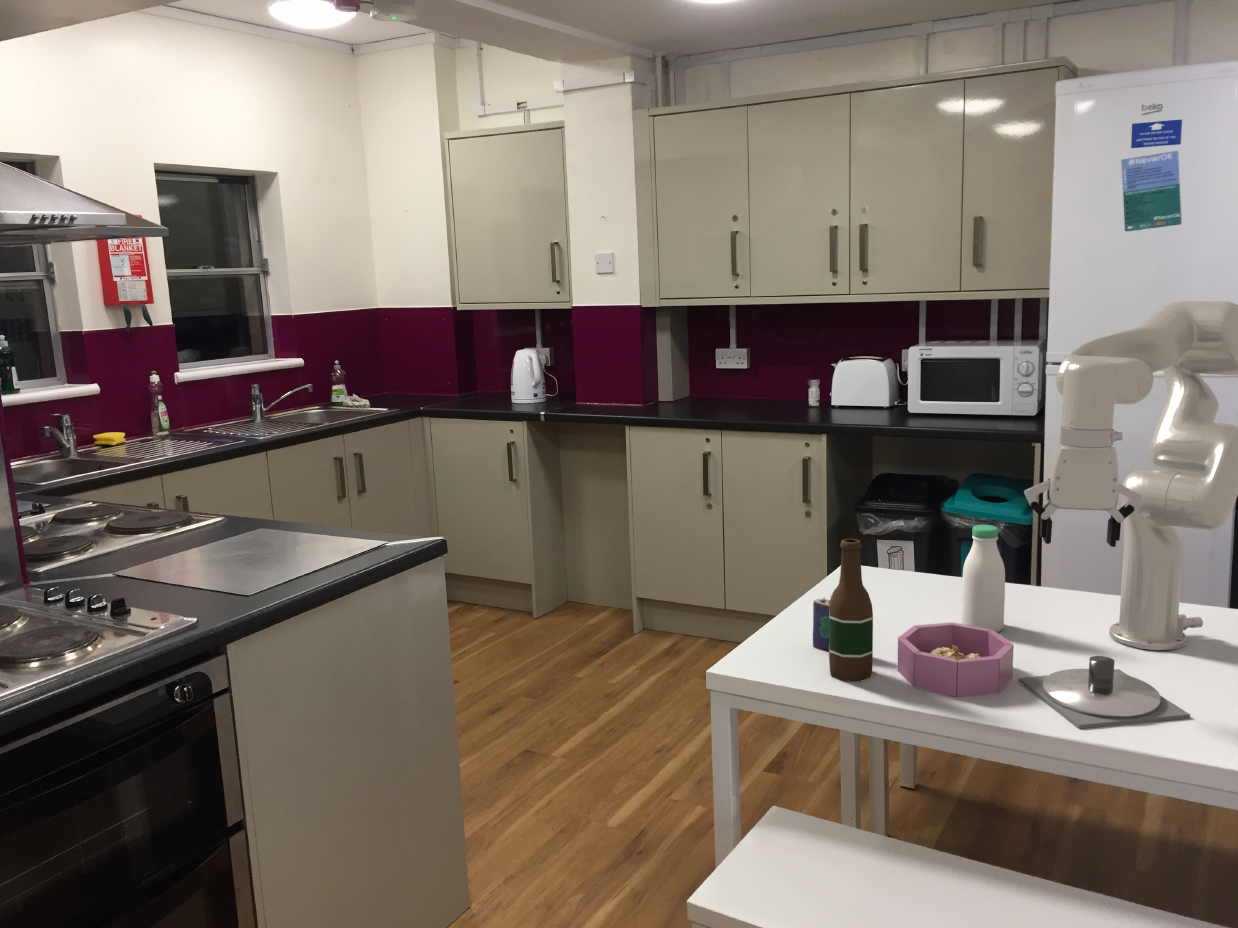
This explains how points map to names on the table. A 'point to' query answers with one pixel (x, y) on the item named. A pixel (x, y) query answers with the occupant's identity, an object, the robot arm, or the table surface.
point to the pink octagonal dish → (955, 673)
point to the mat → (1086, 721)
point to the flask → (821, 624)
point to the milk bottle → (983, 581)
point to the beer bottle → (850, 620)
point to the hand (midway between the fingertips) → (1078, 543)
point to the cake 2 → (952, 653)
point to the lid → (1101, 691)
